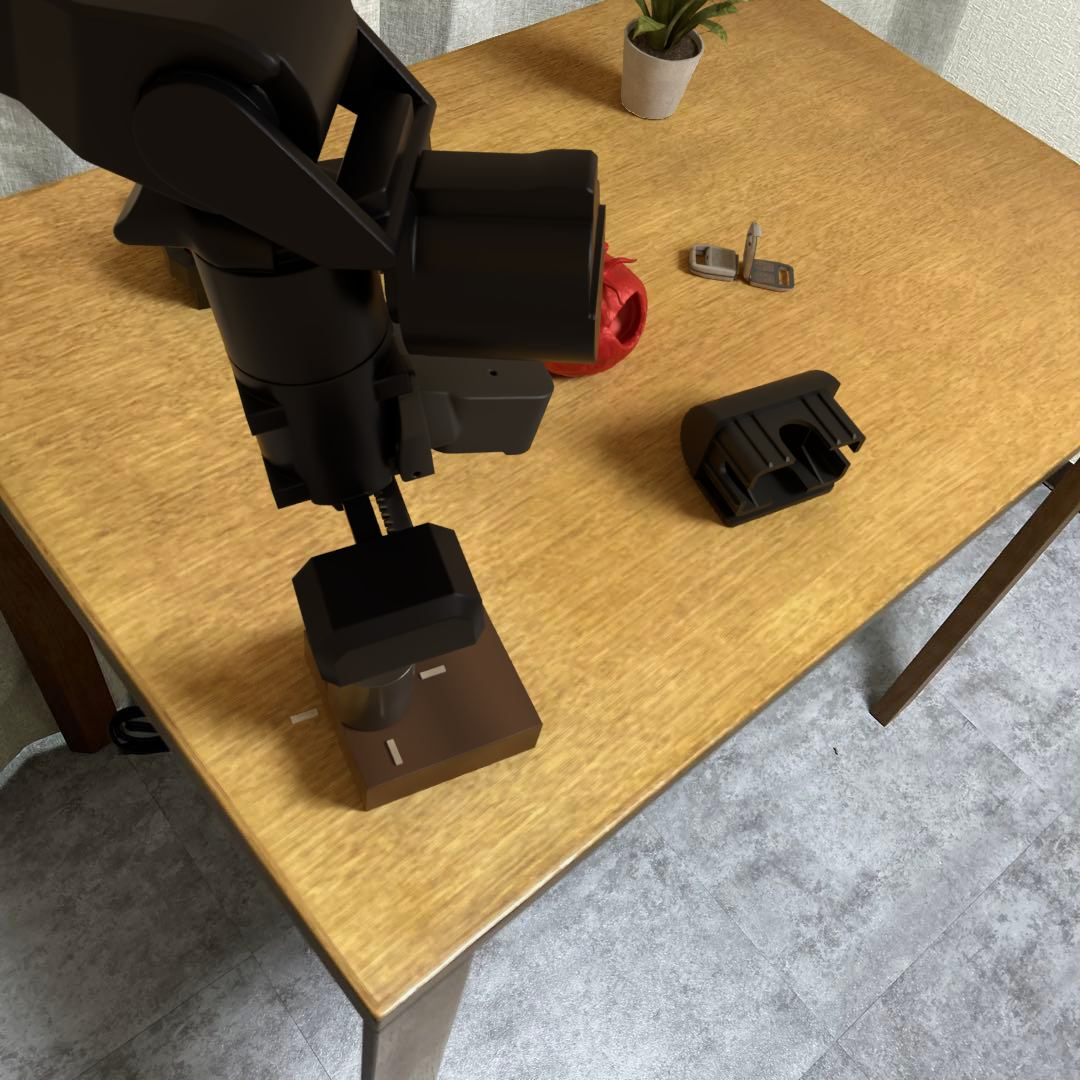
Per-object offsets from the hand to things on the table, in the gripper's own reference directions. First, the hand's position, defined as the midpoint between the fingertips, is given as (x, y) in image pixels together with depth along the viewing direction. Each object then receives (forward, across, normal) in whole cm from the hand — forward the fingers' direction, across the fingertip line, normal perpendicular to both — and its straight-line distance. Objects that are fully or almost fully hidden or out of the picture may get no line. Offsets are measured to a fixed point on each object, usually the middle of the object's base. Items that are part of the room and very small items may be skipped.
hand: (372, 580), depth 51 cm
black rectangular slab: (+11, +40, -3) cm, 42 cm away
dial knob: (+10, 0, +2) cm, 10 cm away
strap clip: (+17, +30, -36) cm, 50 cm away
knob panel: (+13, +1, 0) cm, 13 cm away
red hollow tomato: (+15, +26, -19) cm, 35 cm away
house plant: (+16, +52, -37) cm, 65 cm away
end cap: (+17, +12, -28) cm, 35 cm away
